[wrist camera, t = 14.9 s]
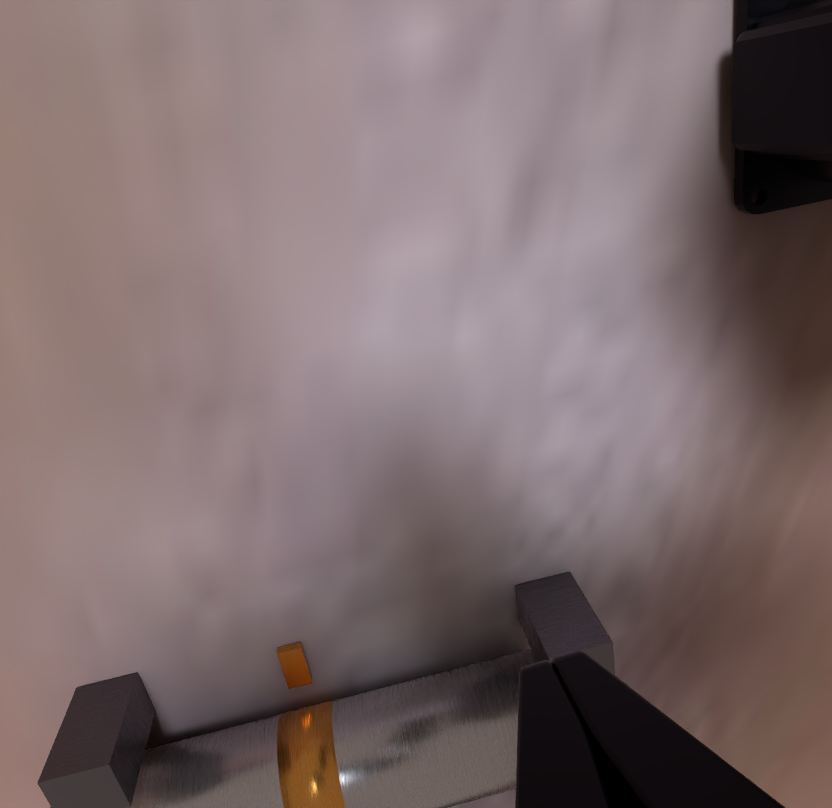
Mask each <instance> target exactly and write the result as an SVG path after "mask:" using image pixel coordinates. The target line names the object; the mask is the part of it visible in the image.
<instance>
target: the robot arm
mask: <svg viewBox="0 0 832 808" xmlns="http://www.w3.org/2000/svg"><path fill="white" fill-rule="evenodd" d="M732 142H733V144H734V145H735V179H734V200H735V205H736V207H737V208H738V210H740V211H742V212H744V213H749V214H762V213H767V212H771V211H776V210H781V209H786V208H790V207H795V206H800V205H805V204H810V203H814V202H819V201H824V200H829V199H832V0H738V30H737V41H736V42H735V44H734V65H733V120H732ZM755 188H758V190H759V195H758V198H757V200H756V201H755V202H753V203H752V201H751V195H752V192H753V191H754V190H755ZM515 808H785V807H784V806H783V805H781V804H780V803H779V802H777V801H776V800H775V799H774V798H772V797H771V796H770V795H768V794H767V793H766V792H764V791H763V790H762V789H761V788H759V787H758V786H757V785H755V784H754V783H753V782H752V781H750V780H749V779H748V778H746V777H745V776H744V775H743V774H741V773H740V772H739V771H737V770H736V769H735V768H733V767H732V766H731V765H730V764H728V763H727V762H726V761H724V760H723V759H722V758H721V757H719V756H718V755H717V754H715V753H714V752H713V751H712V750H710V749H709V748H708V747H706V746H705V745H704V744H702V743H701V742H700V741H699V740H697V739H696V738H695V737H693V736H692V735H691V734H690V733H688V732H687V731H686V730H684V729H683V728H682V727H681V726H679V725H678V724H677V723H675V722H674V721H673V720H671V719H670V718H669V717H668V716H666V715H665V714H664V713H662V712H661V711H660V710H659V709H657V708H656V707H655V706H653V705H652V704H651V703H650V702H648V701H647V700H646V699H644V698H643V697H642V696H640V695H639V694H638V693H637V692H635V691H634V690H633V689H631V688H630V687H629V686H628V685H626V684H625V683H624V682H622V681H621V680H620V679H618V678H617V677H616V676H615V675H613V674H612V673H611V672H609V671H608V670H607V669H606V668H604V667H603V666H602V665H600V664H599V663H598V662H597V661H595V660H594V659H593V658H591V657H590V656H589V655H587V654H586V653H585V652H583V651H580V650H576V651H572V652H569V653H566V654H562V655H559V656H556V657H554V658H553V659H552V662H550V661H548V660H543V661H540V662H536V663H533V664H530V665H527V666H524V667H522V668H521V669H520V672H519V695H518V731H517V767H516V802H515Z"/></svg>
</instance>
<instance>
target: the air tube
mask: <svg viewBox="0 0 832 808" xmlns="http://www.w3.org/2000/svg"><path fill="white" fill-rule="evenodd" d="M536 662H537V661H536V659H535V657H534V654H533V652H532V650H531V649H529V650H525V651H522V652H518V653H514V654H510V655H506V656H502V657H499V658H495V659H491V660H487V661H483V662H479V663H476V664H472V665H468V666H464V667H460V668H457V669H453V670H449V671H445V672H441V673H437V674H434V675H430V676H426V677H422V678H418V679H414V680H411V681H407V682H403V683H399V684H395V685H392V686H388V687H384V688H380V689H376V690H372V691H369V692H365V693H361V694H357V695H353V696H349V697H346V698H342V699H338V700H332V701H328V702H324V703H320V704H316V705H313V706H309V707H305V708H301V709H297V710H293V711H290V712H286V713H283V714H281V715H277V716H273V717H269V718H265V719H261V720H258V721H254V722H250V723H246V724H242V725H239V726H235V727H231V728H227V729H223V730H219V731H216V732H212V733H208V734H204V735H200V736H196V737H193V738H189V739H185V740H181V741H177V742H174V743H170V744H166V745H162V746H158V747H154V748H151V749H147V750H145V753H144V757H143V761H142V765H141V769H140V773H139V777H138V780H137V784H136V788H135V792H134V796H133V800H132V804H131V807H127V808H448V807H451V806H455V805H458V804H462V803H466V802H469V801H473V800H476V799H480V798H484V797H487V796H491V795H494V794H498V793H502V792H505V791H509V790H513V789H516V767H517V731H518V695H519V672H520V669H521V668H522V667H524V666H527V665H530V664H533V663H536ZM50 808H52V807H50Z"/></svg>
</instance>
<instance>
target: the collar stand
mask: <svg viewBox="0 0 832 808" xmlns="http://www.w3.org/2000/svg"><path fill="white" fill-rule="evenodd" d="M515 589H516V596H517V603H518V610H519V617H520V624H521V627H522V629H523V632H524V634H525V636H526V638H527V641H528V643H529V645H530V648H531V650H532V652H533V654H534V657H535V659H536V661H537V662H540V661H543V660H548V661H550V662H552V659H553V658H554V657H556V656H559V655H562V654H566V653H569V652H572V651H576V650H580V651H583V652H585V653H586V654H587V655H589V656H590V657H591V658H593V659H594V660H595V661H597V662H598V663H599V664H600V665H602V666H603V667H604V668H606V669H607V670H608V671H609V672H611V673H612V674H613V675H615V672H614V658H613V643H612V641H611V639H610V637H609V636H608V634H607V632H606V631H605V629H604V627H603V626H602V624H601V622H600V621H599V619H598V617H597V616H596V614H595V612H594V611H593V609H592V607H591V606H590V604H589V602H588V601H587V599H586V598H585V596H584V594H583V593H582V591H581V589H580V588H579V586H578V584H577V583H576V581H575V579H574V578H573V576H572V574H571V573H570V572H567V573H563V574H559V575H555V576H551V577H547V578H543V579H539V580H535V581H531V582H527V583H523V584H519V585H515ZM277 655H278V658H279V661H280V664H281V667H282V670H283V673H284V676H285V679H286V682H287V685H288V688H289V689H291V688H295V687H299V686H303V685H307V684H311V683H312V676H311V673H310V670H309V666H308V663H307V660H306V657H305V654H304V651H303V648H302V644H301V642H299V643H295V644H291V645H287V646H283V647H279V648H277ZM154 714H155V710H154V708H153V706H152V703H151V701H150V699H149V697H148V695H147V692H146V690H145V688H144V686H143V684H142V682H141V679H140V677H139V675H138V673H134V674H130V675H126V676H122V677H118V678H114V679H110V680H106V681H102V682H98V683H94V684H89V685H85V686H81V687H77V688H76V690H75V693H74V695H73V697H72V700H71V702H70V705H69V707H68V710H67V712H66V715H65V717H64V719H63V722H62V724H61V727H60V729H59V732H58V734H57V737H56V739H55V741H54V744H53V746H52V749H51V751H50V754H49V756H48V758H47V761H46V763H45V766H44V768H43V771H42V773H41V776H40V778H39V780H38V785H39V787H40V788H41V790H42V792H43V793H44V795H45V797H46V798H47V800H48V802H49V803H50V805H51V807H52V808H127V807H131V804H132V800H133V796H134V792H135V788H136V784H137V780H138V777H139V773H140V769H141V765H142V761H143V757H144V753H145V749H146V745H147V741H148V738H149V734H150V730H151V726H152V722H153V718H154Z"/></svg>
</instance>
